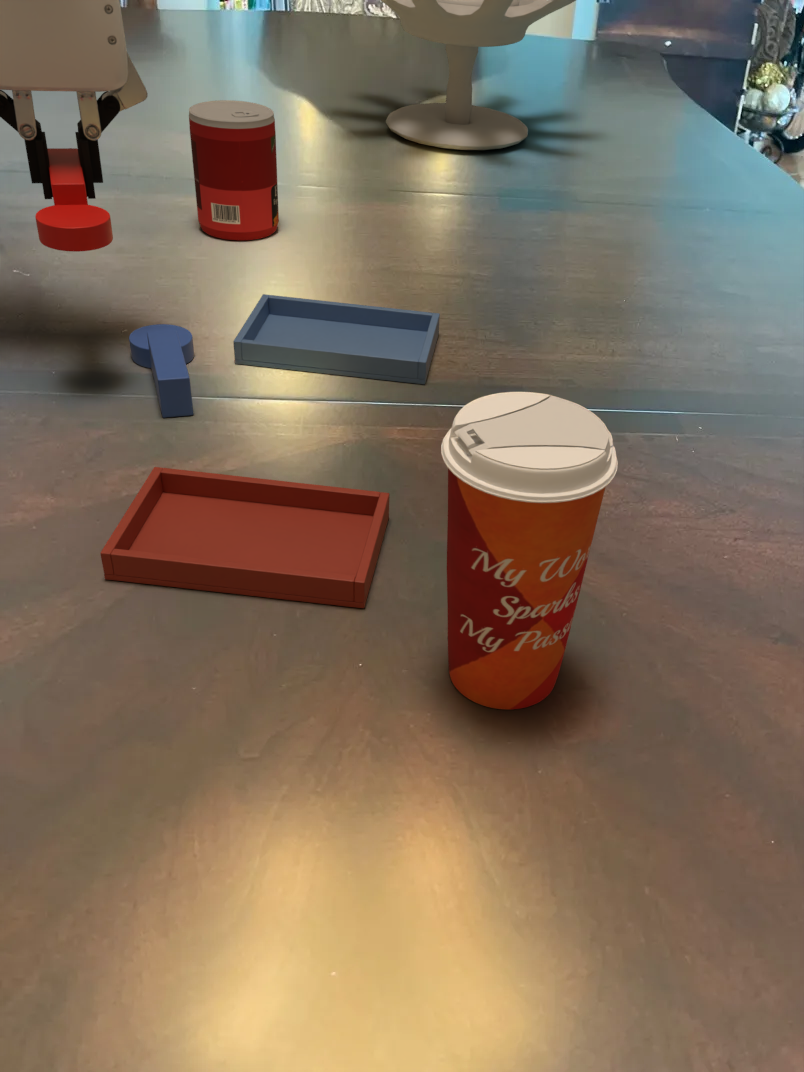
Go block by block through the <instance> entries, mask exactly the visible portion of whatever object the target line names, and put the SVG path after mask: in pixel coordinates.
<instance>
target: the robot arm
mask: <svg viewBox="0 0 804 1072" xmlns="http://www.w3.org/2000/svg"><path fill="white" fill-rule="evenodd" d="M122 14H123V13H122V8H121V2H120V0H0V118H1V119H2V120H3V121H4V122H5V123H7V124H8V125H9V126H10V127H11V128H13V130H15V131H16V132H17V133H18V135H19V136H20V137H21V138H22V139H23V141H24V145H25V152H26V157H27V162H28V169H29V174H30V181H31V184H41V186H42V190H43V197H44V200H53V193H52V187H51V180H50V172H49V167H50V163H49V155H48V143H47V136H46V132H45V131H42V125H41V124H42V123H41V122H40V121H39V120H37V119H36V114H35V107H34V99H33V93H32V92H75V93H76V99H77V103H78V105H77V106H78V111H79V116H80V120H79V121H78V122H77V123H76V125H77V131H74V132H75V133H74V134H75V140H76V147H77V149H78V154H79V159H80V164H81V167H82V171H83V176H84V181H85V187H86V194H87V200H95V199H97V198H96V191H95V184H103V183H104V177H103V169H102V161H101V153H100V146H99V139H100V138H101V136H102V133H103V132H104V131H105V129H106V128H108V126H109V125H110V124H111V122H112V121H113V120H115V118H116V117H117V116H118V114H119V113H120V112H122V111H124V110H128V109H130V108H132V107H133V106H136V105H139V104H140V103H142V102H144V101H146V100H147V99H148V90H147V87H146V86H145V84H144V82H143V80H142V78H141V76H140V73H139V72H138V70H137V68H136V66H135V64H134V62H133V60H132V58H131V57H130V54H129V53H128V51H127V41H126V36H125V28H124V22H123V16H122ZM5 91H11V93H12V97H11V96H10V95H9V94H8V93H7V92H5ZM97 92H98V93H99V92H100V93H101V92H102V94H101V95H100V96H99V97H98V98H97Z"/></svg>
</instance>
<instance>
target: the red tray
mask: <svg viewBox="0 0 804 1072" xmlns="http://www.w3.org/2000/svg"><path fill="white" fill-rule="evenodd" d="M390 495H391V494H390V493H389V492H384V491H376V490H367V489H358V488H351V487H350V488H349V487H340V486H332V485H331V486H330V485H323V484H312V483H304V482H295V481H288V480H287V481H286V480H279V479H278V480H277V479H269V478H259V477H250V476H242V475H241V476H240V475H232V474H224V473H223V474H222V473H215V472H205V471H198V470H197V471H196V470H187V469H178V468H169V467H161V466H160V467H159V466H154V467H153V468H152V470H151V472H150V473H149V475H148V476H147V478H146V479H145V481H144V482H143V484H142V486H141V488H140V489H139V490H138V492H137V494H135V497H134V499H133V500H132V501H131V503H130V505H129V506H128V508H127V510H126V511H125V512H124V514H123V516H122V518H121V519H120V521H119V522H118V524H117V526H116V527H115V528H114V530H113V532H112V533H111V535H110V537H109V538H108V540H107V541H106V543H105V544H104V546H103V548H102V549H101V550H100V552H99V553H100V559H101V560H100V561H101V565H102V570H103V573H104V574H103V577H104V580H110V581H116V582H117V581H119V582H125V583H135V584H143V585H144V584H145V585H154V586H161V587H172V588H179V589H180V588H181V589H188V590H196V591H197V590H198V591H204V592H205V591H207V592H216V593H225V594H231V595H232V594H233V595H243V596H251V597H258V598H259V597H260V598H268V599H278V600H285V601H295V602H304V603H313V604H322V605H330V606H339V607H346V608H347V607H348V608H356V609H357V608H358V609H365V607H366V603H367V600H368V595H369V593H370V589H371V585H372V581H373V577H374V575H375V574H374V573H375V570H376V566H377V563H378V559H379V556H380V552H381V548H382V544H383V541H384V537H385V533H386V530H387V526H388V522H389V518H390Z"/></svg>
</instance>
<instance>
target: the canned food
mask: <svg viewBox="0 0 804 1072" xmlns="http://www.w3.org/2000/svg"><path fill="white" fill-rule="evenodd" d="M188 122H189V136H190V137H189V139H190V148H191V158H192V168H193V179H194V189H195V190H194V191H195V200H196V211H197V220H198V223H199V226H200V228H201V230H202V232H204V233H205V234H207V235H209V236H211V237H213V238H216V239H222V240H227V241H254V240H260V239H264V238H267V237H269V236H271V235H273V234H274V233H275V232H276V231H277V229H278V225H279V221H280V215H279V192H278V190H279V189H278V187H279V186H278V166H277V165H278V163H277V162H278V161H277V159H278V158H277V137H276V136H277V134H276V119H275V112H274V111H273V109H272V108H270V107H268V106H266V105H263V104H260V103H257V102H251V101H243V100H231V99H230V100H229V99H228V100H227V99H224V100H223V99H222V100H221V99H220V100H208V101H202V102H199V103H195V104H193V105H192V106H190V107H189V108H188Z"/></svg>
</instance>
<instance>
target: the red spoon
mask: <svg viewBox="0 0 804 1072" xmlns="http://www.w3.org/2000/svg"><path fill="white" fill-rule="evenodd" d="M47 149H48V155H49V163H50V167H49V172H50V180H51V187H52V193H53V197H52V201H53V205H50V206H46V207H43V208H41V209H39V210H38V211H37V212H35V223H36V228H37V235H38V240H39V242H40V243H41V244H42V245H43V246H45V247H47V248H49V249H52V250H57V251H63V252H72V253H73V252H74V253H75V252H89V251H96V250H99V249H103V248H106V247H107V246H108V245H111V244H112V243H113V240H114V234H113V227H112V218H111V214H110V213H109V211H107V210H106V209H104V208H102V207H99V206H96V205H91V204H89V202H88V197H87V194H86V187H85V181H84V176H83V171H82V167H81V164H80V159H79V154H78V147H77V148H75V147H74V148H72V147H71V148H65V147H64V148H63V147H62V148H57V147H55V148H54V147H53V148H49V147H47Z"/></svg>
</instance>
